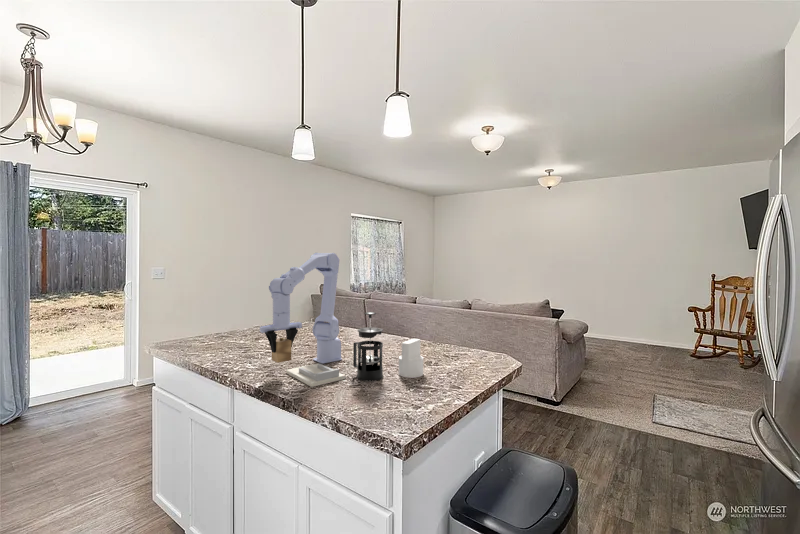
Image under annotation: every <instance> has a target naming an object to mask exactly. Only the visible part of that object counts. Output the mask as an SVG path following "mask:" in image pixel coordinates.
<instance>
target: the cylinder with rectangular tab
mask: <svg viewBox="0 0 800 534" xmlns="http://www.w3.org/2000/svg"><path fill="white" fill-rule="evenodd" d="M398 375H399V376H401V377H404V378H411V379H412V378H413V379H415V378H419V377H423V376H424V356H422V355H421V338H411V339H408V340H406V341H402V342H401V355H399V356H398Z"/></svg>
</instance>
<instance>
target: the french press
mask: <svg viewBox="0 0 800 534" xmlns="http://www.w3.org/2000/svg"><path fill="white" fill-rule="evenodd" d="M364 315H368V319H369V327H361V328H358V329H357V332H358V337H360V338H363V339H369V340H362V341H354V342H353V346H352V349H353V350H352V351H353V352H352V354H353V356H352V357H353V360H352V363H353V365H352V366H353V368H356V369H357V370H356V371H357V373H356V379H357V380H359V381H363V382H376V381H380V380H382V379H383V378H384V374H383V373H384V371H383V370H384V369H383V368H384V367H383V346H384V343H383V342H382V341H380V340H372V339H373V338H375V337H376V336H377V335H382V333H383V331H384V329H383V328H379V327H375V326H373V327H372V326H371V325H372V324H371V323H372V316H373V315H377V313H376V312H374V311H367V312H364ZM367 351H369V355H367ZM372 351H373V355H372V354H371V352H372Z"/></svg>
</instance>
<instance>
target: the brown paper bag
mask: <svg viewBox="0 0 800 534" xmlns="http://www.w3.org/2000/svg"><path fill="white" fill-rule="evenodd" d="M271 361H274V362H275V363H276V364H277V363H278V364H279V363H283V362H289V361H292V348H291V340H289V339H287V337H286V338H285V337H279V338H276V352H275V353H273V352H272V351H271Z"/></svg>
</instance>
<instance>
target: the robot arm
mask: <svg viewBox="0 0 800 534" xmlns="http://www.w3.org/2000/svg"><path fill="white" fill-rule="evenodd" d="M339 268H340V257H339V256H338V255H337V253H335V252H315V253H313V254H311V255H310V257H309V258H308V259H307V260H306V261H305V262H304V263H302V264H301V265H300V266H299V267H298V266H292V267H290V268H289V270H288V271H286V272H285V273H282V274H281V276H280V277H274V278H273V279H271V281H270V283H269V285H268V290H269V292H270V294H271V298H272V324H267V325H263V326H259V333H261V334H265V337H266V338H267V341H268V343H269V345H270V350H271V353H272V352H273V353H275V352H276V339H278V338H277V336H278V333H276V332H278V331H279V332H280V331H285V335H286V339H289V340H291V349H292V347H293V344H294V340H295V339H296V336H297V335H298V332H299V331H298V330H299V329H303V324H302V322H301V321H297V322H296V321H295V322H291V294H292V293H293V292H294V289H295V287H296V286H297V285H298V284H301V282H302V281H303V280H304V279H305V276H306V275H307V274H308V273H310V272H311V271H313V270H315V269H316V270H317V271H318V272H319V273H321V274H322V275H323V277H324V278H323V286H322V296H321V303H320V304H321V305H320V314H319V315H318V316H316V318H315V320H314V324H313V326H312V335H313V336H314V337H315V339H316V357H314V358H312V361H315V362H317V363H319V364H322V365H325V364H328V363H332V362H338V361H342V360H343V358H342V342H341V339H340V338H339V337H338V336H339V334H340V325H339V319H338V318H337V317H336V316H335V314H334V313H335V304H336V296H337V294H336V293H337V284H338V276H339V275H338V274H339Z"/></svg>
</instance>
